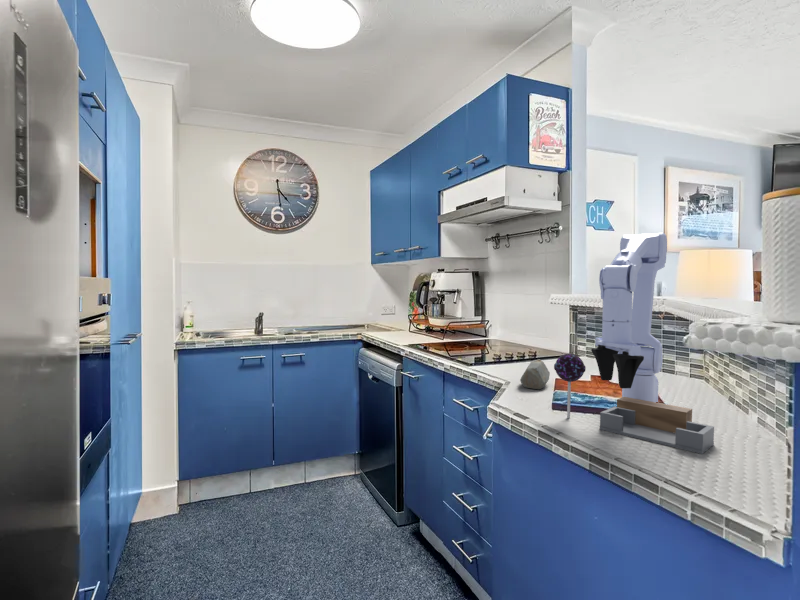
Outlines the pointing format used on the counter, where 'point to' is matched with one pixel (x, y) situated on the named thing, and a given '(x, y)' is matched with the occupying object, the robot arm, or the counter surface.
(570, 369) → the lollipop
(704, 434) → the cradle
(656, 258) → the robot arm
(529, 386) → the stone
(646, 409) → the slat
